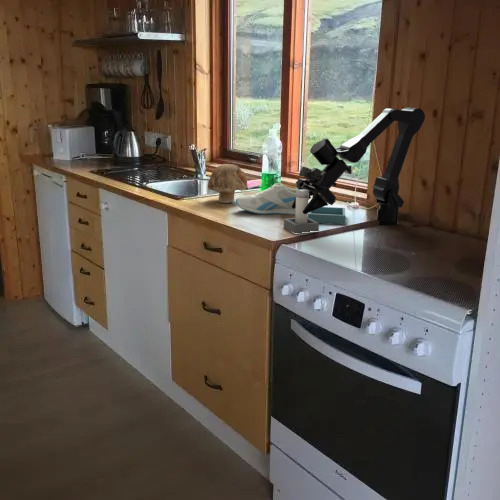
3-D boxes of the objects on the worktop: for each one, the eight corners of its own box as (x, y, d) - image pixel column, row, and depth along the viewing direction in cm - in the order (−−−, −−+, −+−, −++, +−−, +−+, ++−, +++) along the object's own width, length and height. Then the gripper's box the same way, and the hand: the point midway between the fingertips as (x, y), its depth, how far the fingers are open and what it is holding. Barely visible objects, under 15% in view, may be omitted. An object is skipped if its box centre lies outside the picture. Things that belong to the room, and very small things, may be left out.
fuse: (307, 228, 192) (309, 189, 188) (307, 231, 188) (308, 191, 184) (294, 228, 192) (296, 189, 189) (294, 231, 188) (295, 191, 185)
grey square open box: (306, 225, 195) (307, 217, 195) (318, 232, 188) (319, 223, 187) (283, 227, 192) (283, 218, 192) (294, 234, 185) (295, 224, 184)
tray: (344, 216, 210) (344, 207, 210) (344, 224, 198) (345, 215, 198) (309, 214, 212) (309, 206, 211) (307, 222, 200) (308, 213, 199)
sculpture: (252, 205, 226) (252, 166, 221) (212, 207, 221) (212, 167, 217) (241, 197, 239) (242, 160, 235) (204, 199, 235) (203, 161, 231)
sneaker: (234, 209, 219) (234, 180, 216) (305, 209, 221) (306, 181, 218) (236, 215, 209) (236, 185, 206) (309, 215, 211) (311, 186, 208)
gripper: (302, 153, 193) (270, 188, 193) (329, 161, 177) (294, 199, 176) (322, 176, 198) (291, 210, 198) (350, 186, 182) (316, 223, 181)
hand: (297, 210), depth 188 cm, fingers open, 8 cm apart
